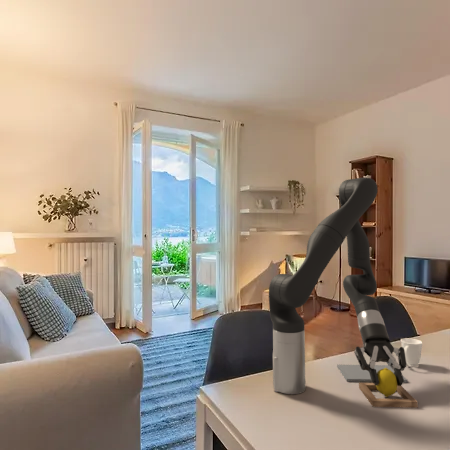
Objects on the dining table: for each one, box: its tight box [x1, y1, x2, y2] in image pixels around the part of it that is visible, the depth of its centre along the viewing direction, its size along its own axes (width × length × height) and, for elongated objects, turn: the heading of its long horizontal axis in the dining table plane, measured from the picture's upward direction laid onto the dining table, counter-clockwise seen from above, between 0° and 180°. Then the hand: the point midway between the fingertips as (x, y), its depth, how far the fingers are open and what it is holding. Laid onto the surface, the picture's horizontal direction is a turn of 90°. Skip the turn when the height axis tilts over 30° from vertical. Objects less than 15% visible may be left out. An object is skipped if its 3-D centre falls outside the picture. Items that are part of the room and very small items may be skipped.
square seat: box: [358, 382, 419, 409], centre depth 98 cm, size 11×11×2 cm
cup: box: [400, 337, 423, 368], centre depth 121 cm, size 7×10×8 cm
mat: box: [336, 364, 408, 383], centre depth 114 cm, size 18×12×1 cm, turn 86°
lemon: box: [376, 368, 397, 398], centre depth 98 cm, size 6×6×8 cm
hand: (388, 384), depth 97 cm, fingers closed on lemon, 5 cm apart
